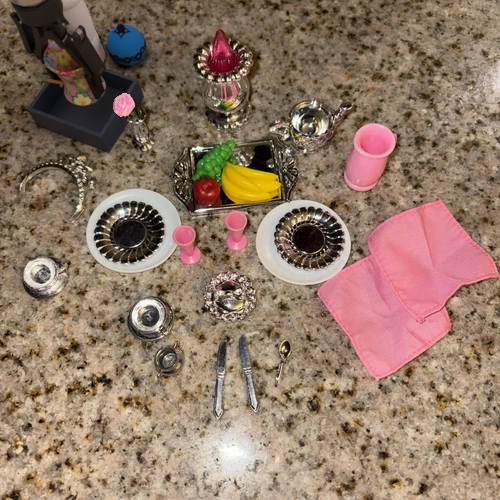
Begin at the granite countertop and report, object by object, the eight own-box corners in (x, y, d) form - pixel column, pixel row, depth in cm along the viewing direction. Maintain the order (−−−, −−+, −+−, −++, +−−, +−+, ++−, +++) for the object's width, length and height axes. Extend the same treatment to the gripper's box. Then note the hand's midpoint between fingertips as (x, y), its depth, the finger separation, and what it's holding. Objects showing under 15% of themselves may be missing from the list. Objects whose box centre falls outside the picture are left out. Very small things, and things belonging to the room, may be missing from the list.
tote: (37, 126, 105) (26, 109, 100) (75, 72, 111) (66, 54, 106) (109, 153, 103) (101, 137, 97) (144, 97, 108) (138, 79, 103)
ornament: (132, 39, 114) (121, 3, 105) (157, 59, 112) (148, 23, 103) (104, 60, 112) (90, 25, 103) (128, 80, 110) (116, 47, 100)
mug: (105, 69, 103) (89, 29, 94) (112, 104, 100) (97, 66, 90) (48, 82, 102) (26, 43, 92) (53, 117, 99) (31, 81, 89)
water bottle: (91, 76, 110) (46, -22, 87) (69, 62, 112) (19, -39, 89) (112, 57, 112) (74, -45, 89) (90, 42, 114) (47, -61, 91)
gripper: (101, -7, 78) (135, 89, 99) (-11, -42, 82) (45, 58, 103) (77, 27, 76) (117, 118, 96) (-38, -11, 79) (25, 84, 100)
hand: (80, 87), depth 100 cm, fingers closed on mug, 9 cm apart
